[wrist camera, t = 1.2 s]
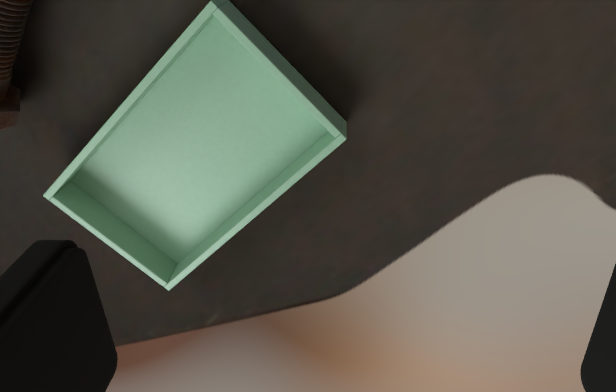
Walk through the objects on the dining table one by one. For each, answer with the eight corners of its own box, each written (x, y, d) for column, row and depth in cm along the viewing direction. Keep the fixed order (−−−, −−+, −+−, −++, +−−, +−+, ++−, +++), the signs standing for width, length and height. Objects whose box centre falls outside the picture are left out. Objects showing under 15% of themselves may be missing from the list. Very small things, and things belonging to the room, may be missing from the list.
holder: (64, 176, 36) (42, 195, 33) (222, -6, 29) (210, 0, 26) (180, 266, 39) (168, 291, 36) (347, 122, 32) (347, 139, 30)
